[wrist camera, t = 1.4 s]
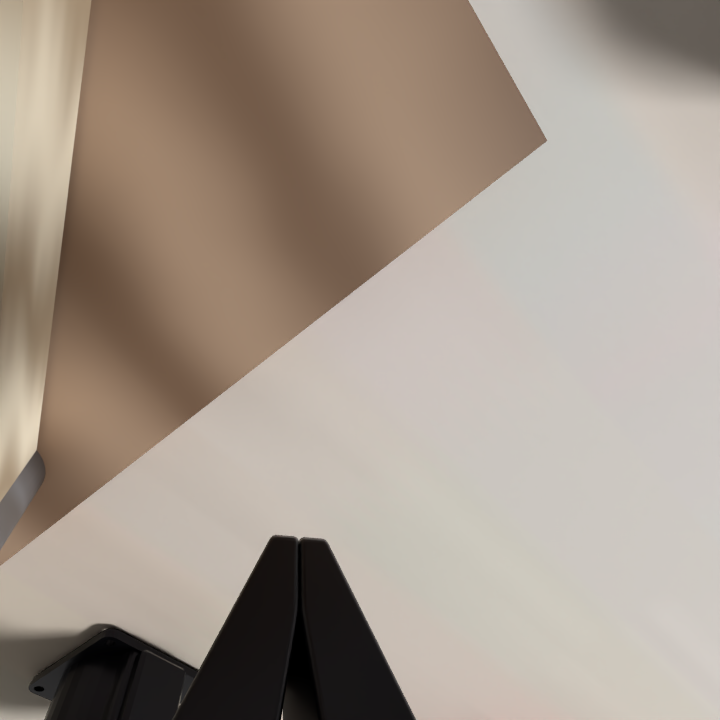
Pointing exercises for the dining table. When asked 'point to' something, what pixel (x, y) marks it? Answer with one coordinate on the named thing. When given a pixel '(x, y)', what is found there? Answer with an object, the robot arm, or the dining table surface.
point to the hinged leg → (32, 219)
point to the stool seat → (245, 198)
